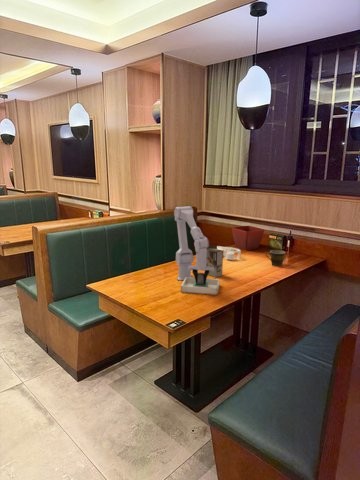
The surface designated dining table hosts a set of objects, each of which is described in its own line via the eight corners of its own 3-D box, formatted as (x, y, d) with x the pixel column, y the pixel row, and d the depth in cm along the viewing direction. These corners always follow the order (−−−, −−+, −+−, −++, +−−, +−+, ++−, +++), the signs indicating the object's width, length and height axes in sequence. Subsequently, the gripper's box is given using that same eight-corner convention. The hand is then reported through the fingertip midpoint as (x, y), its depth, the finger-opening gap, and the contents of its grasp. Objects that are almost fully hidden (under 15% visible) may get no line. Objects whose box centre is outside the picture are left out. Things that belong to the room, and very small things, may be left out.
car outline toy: (212, 256, 256) (212, 247, 254) (222, 254, 263) (223, 244, 261) (231, 262, 241) (232, 252, 239) (242, 260, 247) (242, 250, 246)
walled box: (185, 282, 201) (185, 276, 200) (219, 285, 197) (219, 279, 197) (180, 291, 187) (180, 285, 186) (217, 294, 183) (217, 288, 182)
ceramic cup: (282, 263, 238) (283, 250, 236) (285, 268, 228) (286, 254, 226) (263, 263, 239) (264, 249, 237) (265, 267, 230) (266, 253, 227)
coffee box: (222, 275, 215) (223, 250, 211) (216, 277, 210) (217, 252, 206) (211, 271, 221) (212, 247, 217) (205, 274, 216) (205, 249, 213)
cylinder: (196, 286, 190) (196, 274, 188) (198, 283, 194) (198, 272, 192) (203, 287, 189) (203, 275, 187) (204, 284, 193) (205, 273, 191)
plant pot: (263, 249, 277) (265, 229, 273) (246, 252, 267) (247, 231, 263) (247, 244, 292) (248, 225, 288) (230, 247, 282) (231, 227, 279)
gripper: (187, 260, 186) (186, 284, 189) (213, 262, 183) (212, 286, 186) (189, 257, 192) (189, 279, 196) (214, 258, 190) (214, 281, 193)
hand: (200, 282), depth 191 cm, fingers closed on cylinder, 4 cm apart
